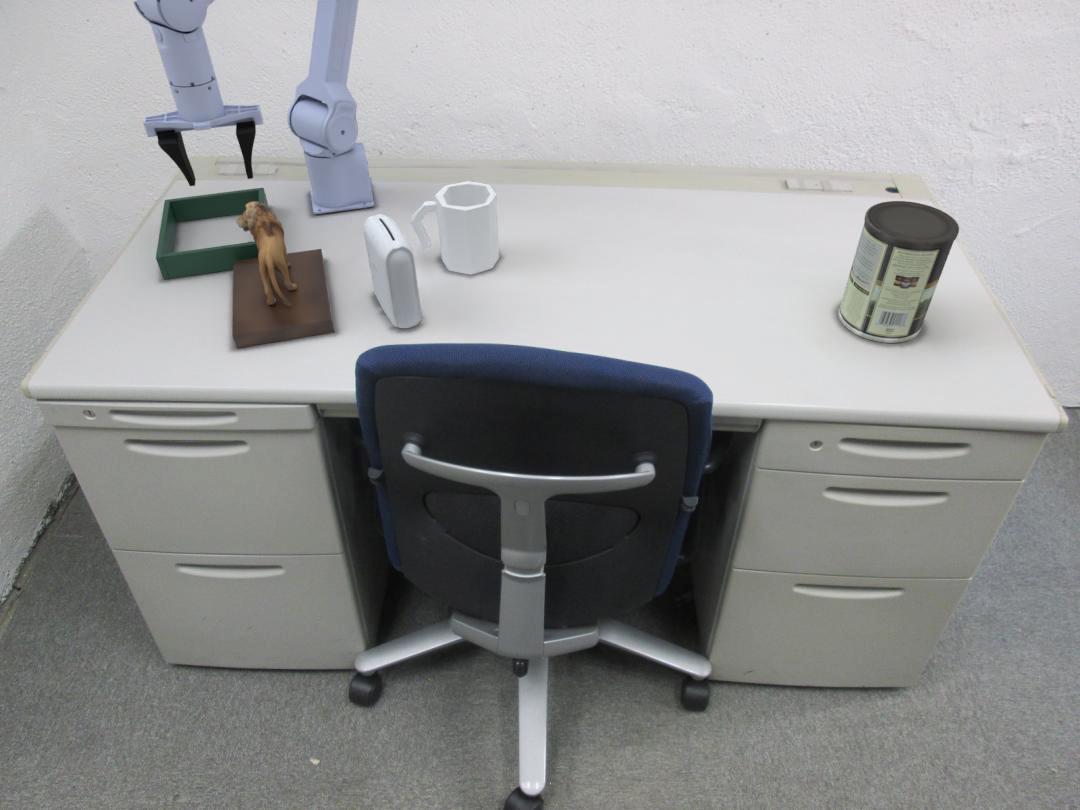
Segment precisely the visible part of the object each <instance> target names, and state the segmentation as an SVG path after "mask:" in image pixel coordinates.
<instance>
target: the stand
mask: <svg viewBox="0 0 1080 810" xmlns="http://www.w3.org/2000/svg"><path fill="white" fill-rule="evenodd" d="M287 261H288V262H290V264H291V265H290V267H288V272H289V279H290V282H291V283H295V284H296V285H297V288H296V289H295V290H288V288H287V287H286V286H285V284H284V279H283V277H282V276H281V275H280V273H279V272H277V271H276V270H275V269H274V268H273V269H274V275H275V279H276V282H277V284H278V287H279V289H280V291H281V292H282V294H283V295H284V296H285V297H287V298H288V300H289V301H290V303H291V306H287V305H285V304H284V301H283V300H282V299H281V298H280V296H279V295H278V294H277V292H276V290H275V289H274V287H273V284H272V281H271V278H270V279H269V283H270V287H271V289H272V293H273V297H274V298H275V299H276V303H275V304H273V305H268V303H267V300H268V298H267V295H266V293H265V287H264V284H263V281H262V278H261V274H260V270H259V258H253V259H246V260H239V261H233V269H232V330H231V331H232V333H231V335H232V339H233V342H234V345H235V348H236V349H241V348H246V347H252V346H258V345H265V344H271V343H277V342H282V341H283V342H284V341H289V340H294V339H300V338H301V339H302V338H306V337H313V336H318V335H325V334H330V333H335V326H334V319H333V311H332V306H331V299H330V293H329V285H328V279H327V272H326V267H325V266H326V265H325V259H324V255H323V251H322V248H316V249H315V248H314V249H310V250H309V249H308V250H303V251H295V252H289V253H288V252H287Z"/></svg>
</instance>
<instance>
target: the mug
mask: <svg viewBox="0 0 1080 810" xmlns="http://www.w3.org/2000/svg"><path fill="white" fill-rule="evenodd" d="M434 198H435V201H431V200H425V201H424V202H422V204H421V205H420V206H419V207H418V209H417V210H416V211H415V212H414V213H413V214H412V215H411V218H410V224H411V226H412V227H411V228H412V229H413V231H414V233H415V235H416V238H417V239H418V241H419V244H420V247H421V248H422V250H423V251H424V250H427V249H429V248H431V247H432V238H431V237H430V235H429V232H428V231H427V230H426V227H425V226H424V224H423V222H422V221H423V219H424V218H425V217H426V215H427V214H428V213H436V218H437V230H438V237H439V238H438V239H439V249H440V258H441V260H442V262H443V264H444V265H445V267H446V269H447V271H449V272H453V273H460V274H464V275H470V276H472V275H476V274H479V273H482V272H485V271H488V270H492V269H493V268H494V266H495V265H496V263H497V261H499V259H500V243H499V242H500V241H499V240H500V239H499V224H498V223H499V222H498V221H499V219H498V218H499V217H498V200H497V199H498V197H497V192H495V190H494V189H493V188H492V187H491V184H487V183H481V182H475V181H469V180H467V181H462V182H457V183H451V184H446V185H444V186H442V188H440V190H438V192H436V194H435V195H434Z"/></svg>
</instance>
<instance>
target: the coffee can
mask: <svg viewBox="0 0 1080 810" xmlns="http://www.w3.org/2000/svg"><path fill="white" fill-rule="evenodd" d="M959 233H960V226H959V224H958V222H957V221H956V219H954V217H953V216H951V215H950V214H948V213H947V212H945V211H943V210H942V209H939V208H937V207H934V206H931V205H928V204H924V203H920V202H914V201H905V200H904V201H903V200H889V201H884V202H878V203H876V204H873V205H872V206H870V207H869V208H868V209H867V210H866V212H865V215H864V222H863V226H862V229H861V233H860V237H859V240H858V243H857V247H856V250H855V255H854V257H853V260H852V264H851V268H850V270H849V274H848V279H847V282H846V285H845V288H844V291H843V295H842V299H841V303H840V306H839V307H838V310H837V317H838V319H839V321H840V322H841V324H842V325H843V326H844V327H845V328H846V329H847V330H849V331H850V332H851V333H853V334H854V335H856V336H859V337H861V338H864V339H866V340H870V341H872V342H879V343H886V344H895V343H904V342H907V341H911V340H912V339H915V338H916V337H917V336H918V335H919V334H920V332H921V331H922V327H923V324H924V321H925V317H926V315H927V313H928V310H929V307H930V305H931V302H932V299H933V297H934V294H935V292H936V289H937V287H938V284H939V281H940V279H941V276H942V273H943V271H944V268H945V266H946V263H947V260H948V258H949V255H950V252H951V250H952V247H953V244H954V242H955V240H956V239H957V237H958V235H959Z"/></svg>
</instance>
